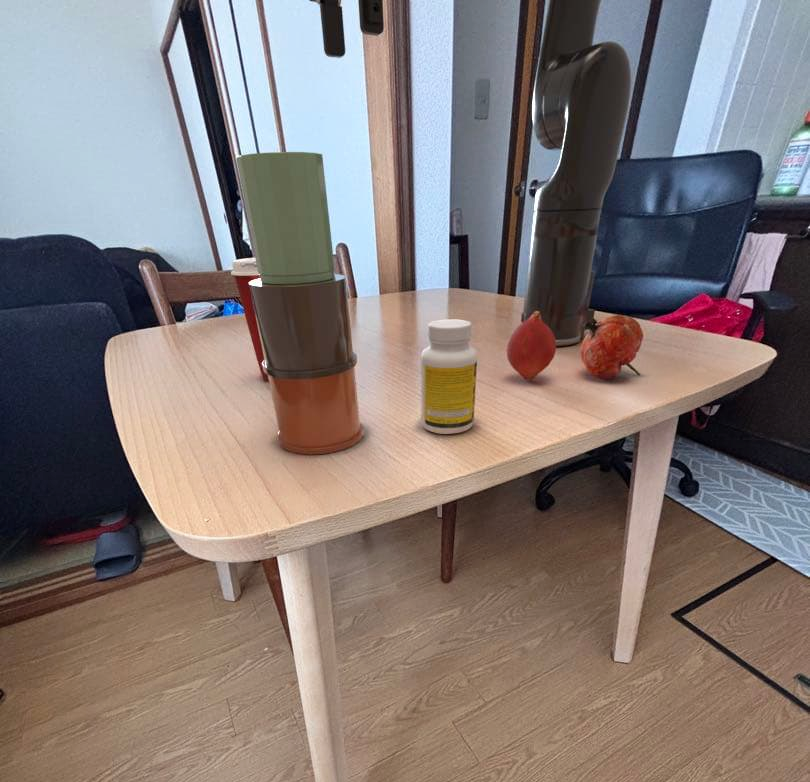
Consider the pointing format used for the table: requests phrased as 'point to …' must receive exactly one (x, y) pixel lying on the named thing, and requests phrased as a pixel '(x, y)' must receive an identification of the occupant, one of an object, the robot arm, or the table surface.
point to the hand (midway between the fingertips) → (352, 46)
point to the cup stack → (309, 363)
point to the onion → (531, 347)
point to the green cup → (288, 216)
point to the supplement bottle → (448, 377)
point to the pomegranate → (611, 345)
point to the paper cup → (249, 302)
